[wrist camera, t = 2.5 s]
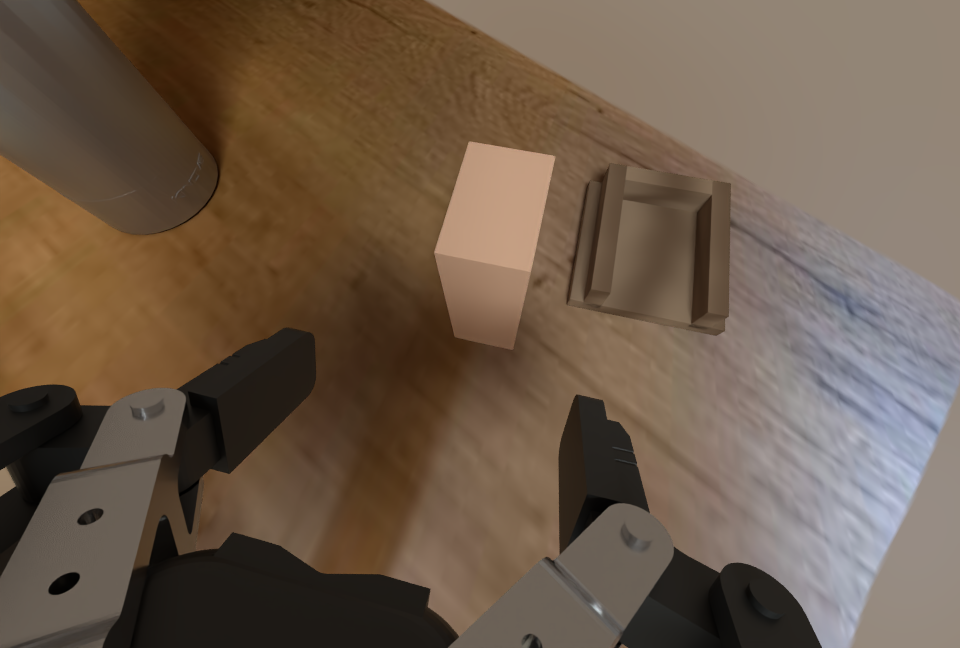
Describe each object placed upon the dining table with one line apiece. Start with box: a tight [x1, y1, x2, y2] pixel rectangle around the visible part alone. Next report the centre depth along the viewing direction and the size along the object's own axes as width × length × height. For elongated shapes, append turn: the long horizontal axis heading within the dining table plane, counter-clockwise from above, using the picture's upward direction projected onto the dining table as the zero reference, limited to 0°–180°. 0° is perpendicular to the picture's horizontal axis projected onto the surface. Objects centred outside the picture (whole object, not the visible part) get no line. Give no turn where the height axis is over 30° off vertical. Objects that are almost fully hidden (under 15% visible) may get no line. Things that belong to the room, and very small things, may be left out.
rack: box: [567, 163, 731, 336], centre depth 27 cm, size 10×10×3 cm
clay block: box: [434, 142, 555, 350], centre depth 22 cm, size 4×6×11 cm, turn 167°
